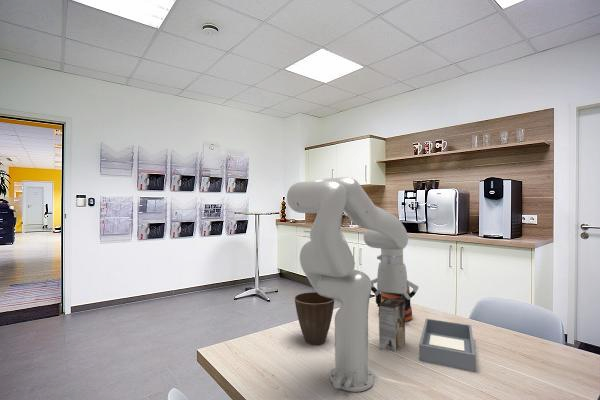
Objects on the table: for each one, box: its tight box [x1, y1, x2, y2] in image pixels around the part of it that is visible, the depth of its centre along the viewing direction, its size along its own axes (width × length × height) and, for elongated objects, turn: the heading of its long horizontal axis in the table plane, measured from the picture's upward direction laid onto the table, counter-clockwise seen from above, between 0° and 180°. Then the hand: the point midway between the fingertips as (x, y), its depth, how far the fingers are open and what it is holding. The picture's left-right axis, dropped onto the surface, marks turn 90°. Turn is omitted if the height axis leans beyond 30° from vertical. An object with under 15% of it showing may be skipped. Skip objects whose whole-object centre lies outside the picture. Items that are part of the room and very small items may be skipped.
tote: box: [418, 318, 477, 373], centre depth 107 cm, size 26×16×6 cm, turn 154°
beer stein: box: [380, 286, 413, 323], centre depth 138 cm, size 19×15×20 cm
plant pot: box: [294, 291, 335, 346], centre depth 116 cm, size 15×15×16 cm
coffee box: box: [378, 298, 406, 352], centre depth 110 cm, size 9×6×16 cm
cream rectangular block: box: [429, 335, 465, 352], centre depth 101 cm, size 8×10×5 cm
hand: (392, 307), depth 111 cm, fingers open, 9 cm apart
